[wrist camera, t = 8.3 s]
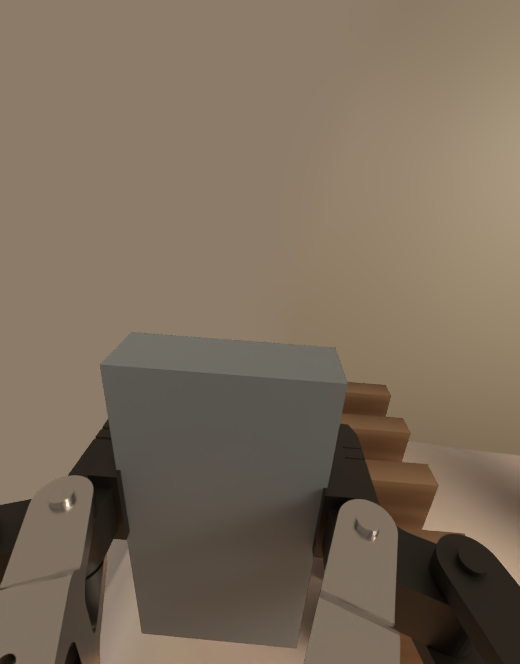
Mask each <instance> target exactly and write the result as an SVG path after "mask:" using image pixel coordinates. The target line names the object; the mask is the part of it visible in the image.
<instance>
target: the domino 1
mask: <svg viewBox="0 0 520 664" xmlns="http://www.w3.org/2000/svg"><path fill="white" fill-rule="evenodd" d="M100 369H101V375H102V382H103V388H104V394H105V401H106V407H107V413H108V420H109V426H110V433H111V439H112V445H113V452H114V458H115V465H116V470H121V477H122V483H123V490H124V497H125V503H126V510H127V517H128V523H129V530H130V533H129V535H128V538H127V541H128V548H129V554H130V560H131V567H132V573H133V580H134V586H135V592H136V599H137V605H138V611H139V618H140V624H141V631H142V633H144V634H154V635H164V636H174V637H185V638H195V639H205V640H215V641H226V642H236V643H246V644H256V645H267V646H277V647H287V648H296V647H297V642H298V636H299V631H300V626H301V621H302V616H303V611H304V606H305V601H306V595H307V590H308V585H309V580H310V575H311V570H312V565H313V559H314V557H313V553H312V547H313V541H314V536H315V531H316V525H317V520H318V515H319V510H320V504H321V499H322V494H323V488H328V482H329V477H330V472H331V467H332V462H333V457H334V452H335V447H336V441H337V436H338V431H339V426H340V421H341V416H342V411H343V405H344V400H345V395H346V390H347V385H348V383H347V380H346V377H345V374H344V371H343V369H342V366H341V363H340V360H339V357H338V354H337V351H336V348H333V347H318V346H305V345H293V344H280V343H267V342H253V341H240V340H226V339H214V338H213V339H212V338H200V337H187V336H174V335H161V334H148V333H135V332H132V333H130V334H129V335H128V336H127V337H126V338H125V339H124V341H123V342H122V343H120V344H119V346H117V348H116V349H115V350H114V351H113V352H112V353H111V354H110V355H109V356H108V357H107V358H106V359H105V360H104V361H103V362H102V363H101V364H100Z"/></svg>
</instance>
